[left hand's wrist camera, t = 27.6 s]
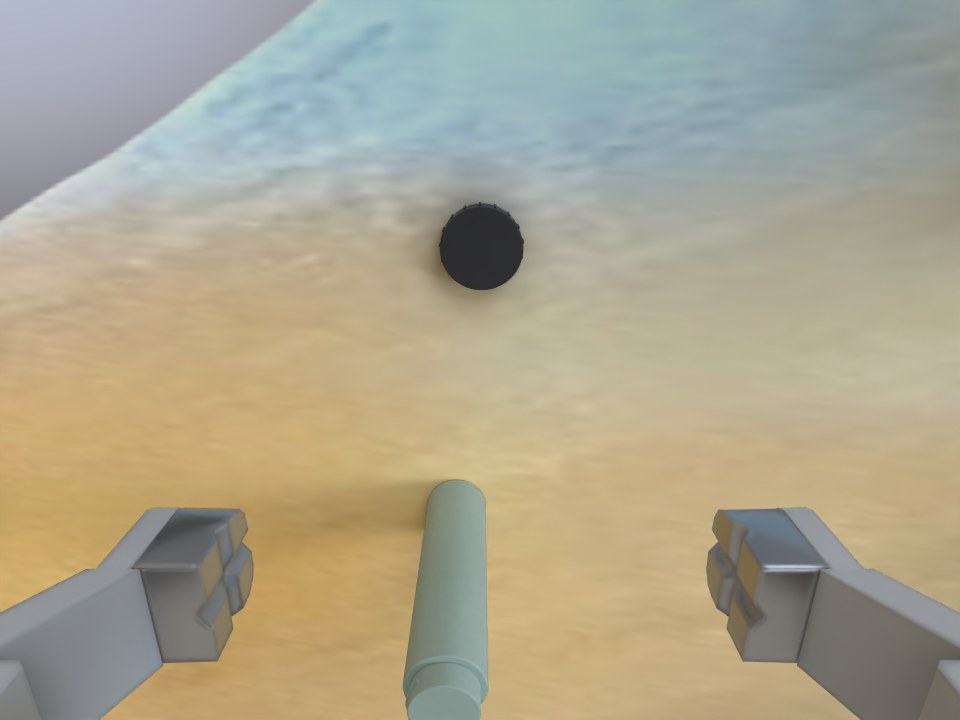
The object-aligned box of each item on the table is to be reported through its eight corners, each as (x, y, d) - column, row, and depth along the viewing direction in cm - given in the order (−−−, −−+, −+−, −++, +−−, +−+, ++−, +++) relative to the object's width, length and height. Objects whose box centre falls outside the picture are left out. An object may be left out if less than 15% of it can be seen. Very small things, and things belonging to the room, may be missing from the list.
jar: (416, 499, 43) (380, 707, 28) (462, 469, 42) (452, 667, 27) (451, 537, 44) (436, 757, 29) (497, 509, 43) (506, 720, 28)
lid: (515, 289, 37) (517, 296, 36) (435, 278, 37) (433, 285, 35) (529, 209, 35) (531, 212, 34) (445, 196, 35) (443, 200, 34)
